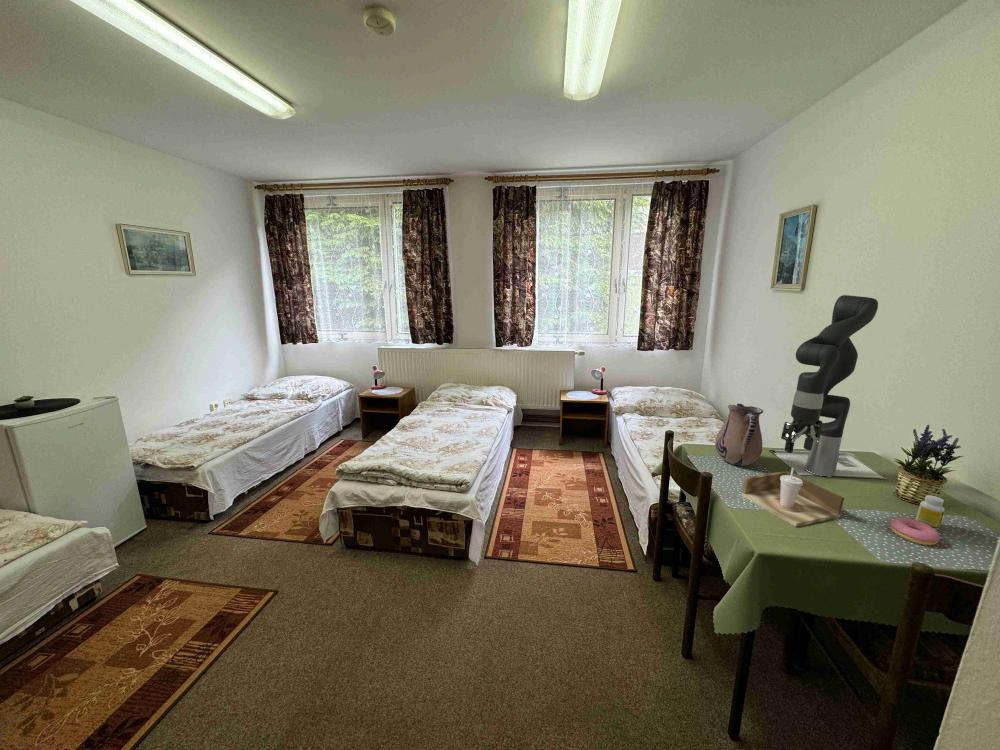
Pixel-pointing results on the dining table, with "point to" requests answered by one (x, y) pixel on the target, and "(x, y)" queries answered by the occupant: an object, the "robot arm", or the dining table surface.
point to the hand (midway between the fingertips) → (797, 450)
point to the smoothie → (789, 489)
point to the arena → (807, 507)
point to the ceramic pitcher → (740, 435)
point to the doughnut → (915, 531)
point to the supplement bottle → (931, 511)
